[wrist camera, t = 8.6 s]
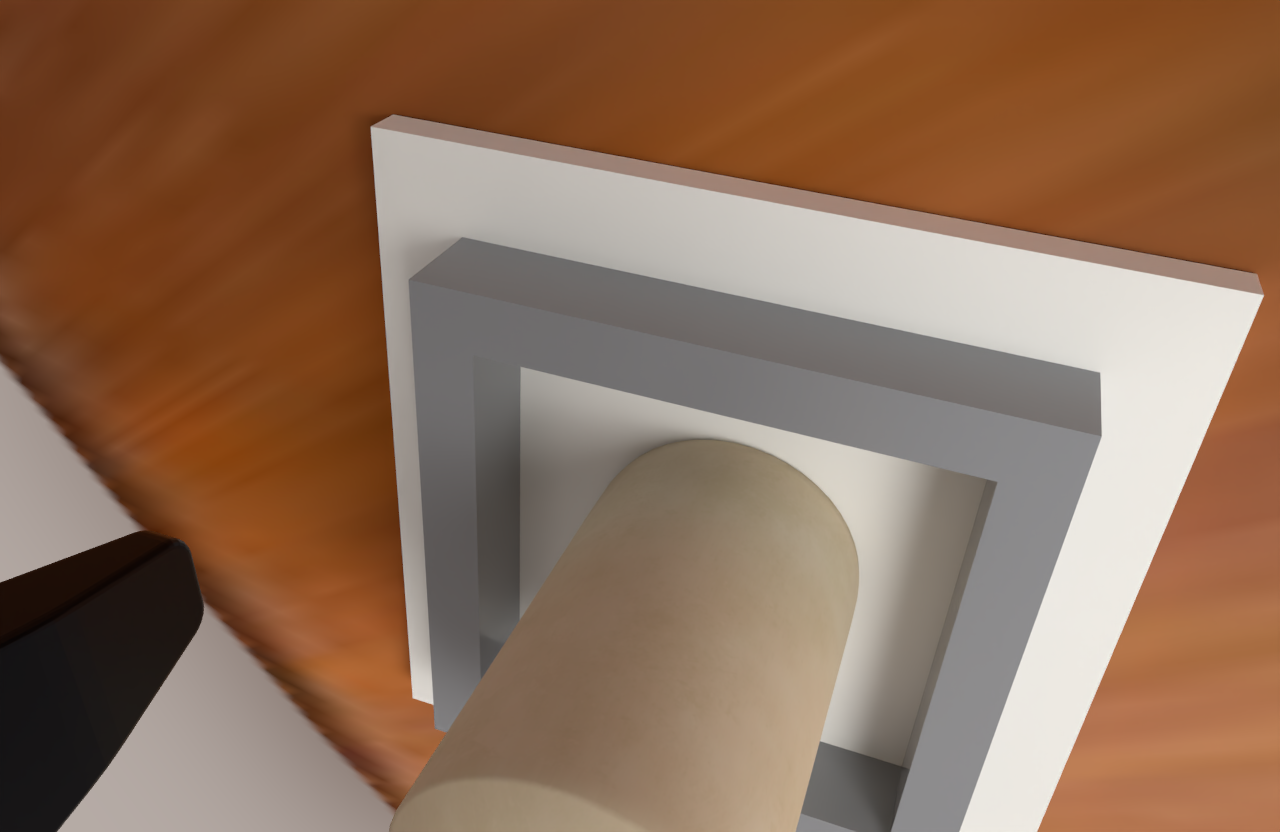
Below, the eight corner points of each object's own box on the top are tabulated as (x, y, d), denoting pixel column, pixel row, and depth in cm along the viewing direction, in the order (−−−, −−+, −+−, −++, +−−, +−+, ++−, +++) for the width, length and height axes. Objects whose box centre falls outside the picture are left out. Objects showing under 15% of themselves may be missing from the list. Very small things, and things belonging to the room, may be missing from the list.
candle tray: (1256, 273, 17) (1283, 357, 14) (1011, 866, 25) (1003, 978, 23) (392, 114, 20) (307, 160, 18) (427, 676, 28) (371, 755, 26)
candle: (757, 695, 24) (588, 1183, 16) (555, 546, 23) (278, 964, 15) (922, 557, 20) (816, 1086, 12) (689, 381, 20) (425, 804, 12)
